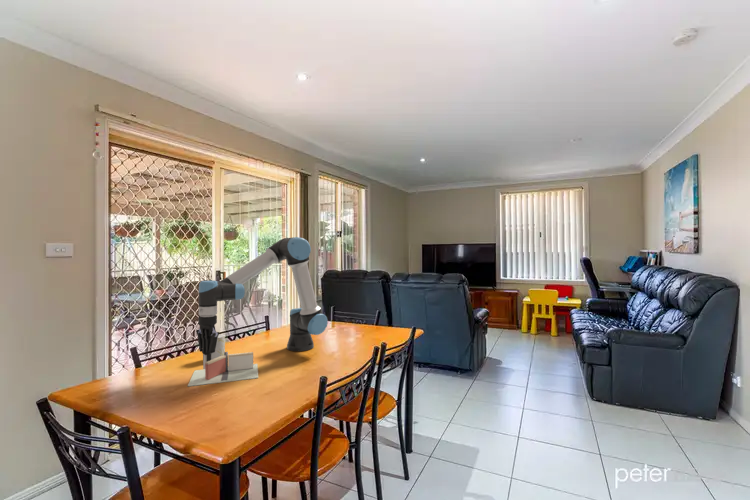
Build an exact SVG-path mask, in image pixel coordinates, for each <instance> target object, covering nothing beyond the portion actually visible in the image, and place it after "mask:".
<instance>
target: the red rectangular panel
mask: <svg viewBox="0 0 750 500" xmlns="http://www.w3.org/2000/svg"><path fill="white" fill-rule="evenodd" d="M225 371H226V356H225V355H222V356H220V357H217V358H215V359H212V360H210V361H207V362H205V379H207V380H208V379H211V378H213V377H215V376H217V375H219V374H221V373H223V372H225Z"/></svg>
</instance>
